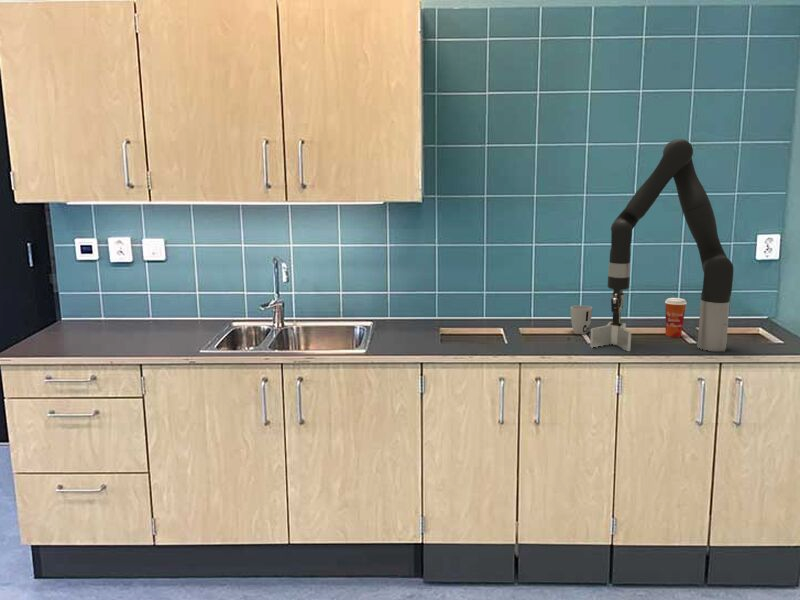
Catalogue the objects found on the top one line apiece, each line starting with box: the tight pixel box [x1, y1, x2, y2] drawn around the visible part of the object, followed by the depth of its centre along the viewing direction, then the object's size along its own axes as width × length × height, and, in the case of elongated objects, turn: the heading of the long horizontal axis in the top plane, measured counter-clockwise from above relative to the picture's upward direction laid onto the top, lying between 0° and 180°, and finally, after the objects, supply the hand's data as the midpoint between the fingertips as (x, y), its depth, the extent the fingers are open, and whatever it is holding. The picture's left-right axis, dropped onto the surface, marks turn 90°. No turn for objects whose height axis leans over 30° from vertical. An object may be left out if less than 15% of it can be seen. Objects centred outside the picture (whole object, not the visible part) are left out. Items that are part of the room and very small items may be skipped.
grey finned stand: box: [589, 321, 632, 352], centre depth 258 cm, size 14×14×7 cm
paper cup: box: [664, 297, 688, 338], centre depth 272 cm, size 8×8×14 cm
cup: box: [570, 304, 593, 335], centre depth 278 cm, size 8×8×10 cm
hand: (616, 322), depth 261 cm, fingers closed on pin, 2 cm apart
